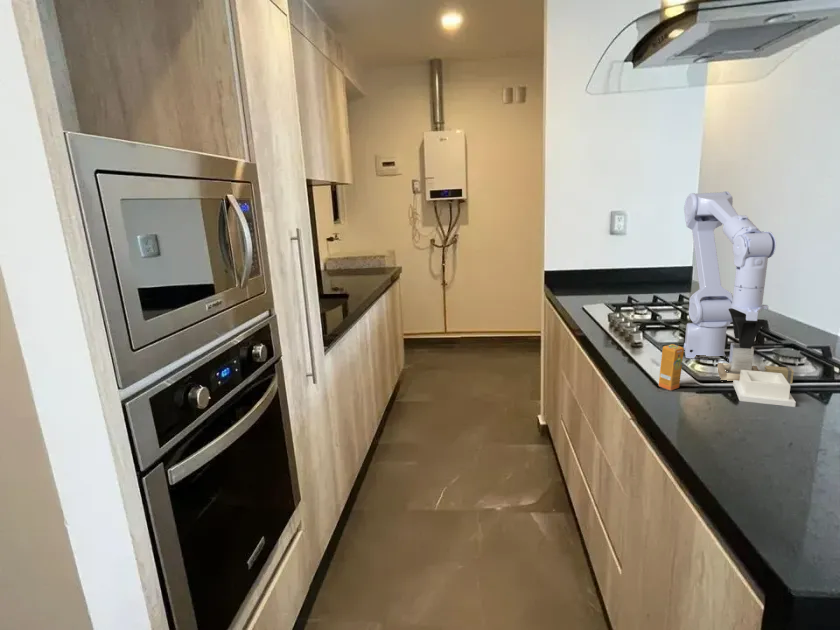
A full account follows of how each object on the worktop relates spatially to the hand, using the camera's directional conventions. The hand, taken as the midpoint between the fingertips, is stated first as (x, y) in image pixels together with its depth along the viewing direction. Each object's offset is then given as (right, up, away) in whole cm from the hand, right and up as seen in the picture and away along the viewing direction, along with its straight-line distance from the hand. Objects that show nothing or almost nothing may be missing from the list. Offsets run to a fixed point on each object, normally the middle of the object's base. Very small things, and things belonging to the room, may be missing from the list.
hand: (742, 343), depth 112 cm
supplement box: (-18, -10, -1) cm, 21 cm away
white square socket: (-1, -11, -8) cm, 14 cm away
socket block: (0, -8, +2) cm, 9 cm away
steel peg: (0, -8, +2) cm, 9 cm away
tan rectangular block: (+7, -9, -1) cm, 11 cm away
